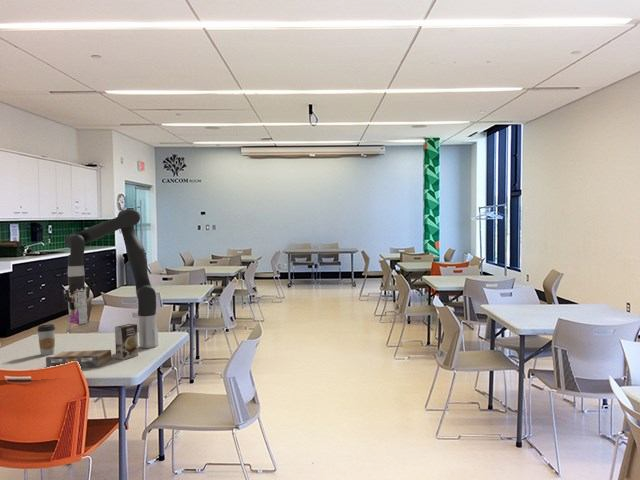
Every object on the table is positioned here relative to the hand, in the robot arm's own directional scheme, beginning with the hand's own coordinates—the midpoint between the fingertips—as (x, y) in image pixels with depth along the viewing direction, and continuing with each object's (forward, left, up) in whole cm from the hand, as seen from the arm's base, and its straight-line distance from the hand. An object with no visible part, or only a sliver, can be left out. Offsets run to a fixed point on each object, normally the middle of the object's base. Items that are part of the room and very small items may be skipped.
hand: (77, 308), depth 265 cm
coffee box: (-22, -3, -26) cm, 34 cm away
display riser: (-2, +5, -26) cm, 26 cm away
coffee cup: (+24, -16, -26) cm, 38 cm away
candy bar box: (0, 0, -7) cm, 7 cm away
